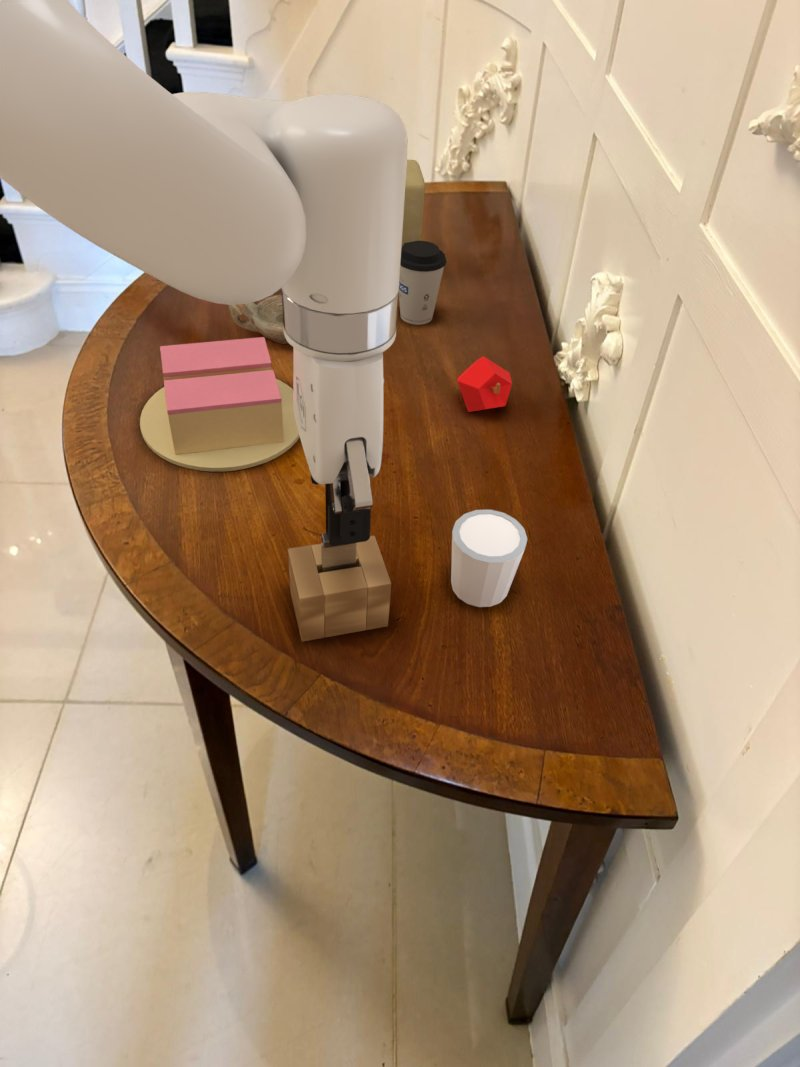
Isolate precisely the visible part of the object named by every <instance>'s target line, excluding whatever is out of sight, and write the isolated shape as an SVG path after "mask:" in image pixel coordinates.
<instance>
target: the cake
mask: <svg viewBox="0 0 800 1067" xmlns="http://www.w3.org/2000/svg"><path fill="white" fill-rule="evenodd" d="M159 349H160V359H161V367H162V375H163V387H161V388H160V389H158V390H157V391H156V392H155V393H153V395H152V396H150V398H149V399H148V400H147V402H146V403H145V405H144V406H143V409H142V410H141V414H140V417H139V426H140V432H141V436H142V439H143V442H145V444H146V446H148V448H149V449H150V450H151V451H152V452H153V453H154V454H155V455H156V456H158V457H159V458H161V459H163V460H164V461H167V462H168V463H170V464H172V465H175V466H178V467H182V468H186V469H188V470H194V471H200V472H212V473H213V472H219V473H220V472H223V473H224V472H232V471H233V472H234V471H239V470H246V469H250V468H254V467H257V466H261V465H263V464H266V463H268V462H271V461H272V460H274V459H277V458H278V457H280V456H282V455H283V454H285V453H286V452H288V450H290V449H291V448H292V447H293V446H294V445H295V444H297V442H298V440H300V436H299V432H298V429H297V425H296V421H295V416H294V408H293V388H292V387H291V386H290V385H288V384H287V383H285V382H283V381H282V380H280V379H277V377H276V374H275V370H274V369H273V364H272V360H271V355H270V352H269V349H268V345H267V342H266V337H264V336H260V337H249V338H238V339H226V340H214V341H203V342H192V343H181V344H169V345H160V346H159Z"/></svg>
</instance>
